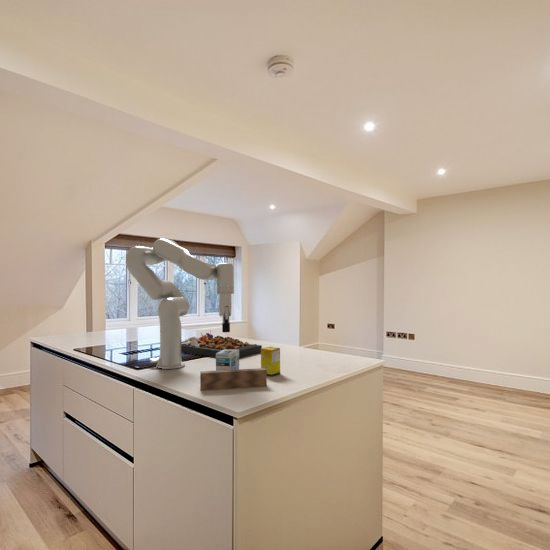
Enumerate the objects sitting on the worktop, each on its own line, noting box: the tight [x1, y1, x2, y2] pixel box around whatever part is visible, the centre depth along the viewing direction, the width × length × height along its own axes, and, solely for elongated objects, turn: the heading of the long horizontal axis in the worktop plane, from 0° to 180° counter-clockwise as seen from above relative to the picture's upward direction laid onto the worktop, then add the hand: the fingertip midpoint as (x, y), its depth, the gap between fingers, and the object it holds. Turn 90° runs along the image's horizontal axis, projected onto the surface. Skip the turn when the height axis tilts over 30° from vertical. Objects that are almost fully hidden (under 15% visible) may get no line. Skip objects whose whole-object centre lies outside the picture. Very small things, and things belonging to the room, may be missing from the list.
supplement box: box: [260, 346, 281, 377], centre depth 154 cm, size 6×6×11 cm
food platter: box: [181, 330, 263, 359], centre depth 205 cm, size 45×25×10 cm, turn 55°
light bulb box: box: [215, 349, 240, 371], centre depth 148 cm, size 11×7×11 cm, turn 168°
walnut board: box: [199, 367, 268, 391], centre depth 135 cm, size 24×3×6 cm, turn 102°
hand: (226, 332), depth 163 cm, fingers closed
